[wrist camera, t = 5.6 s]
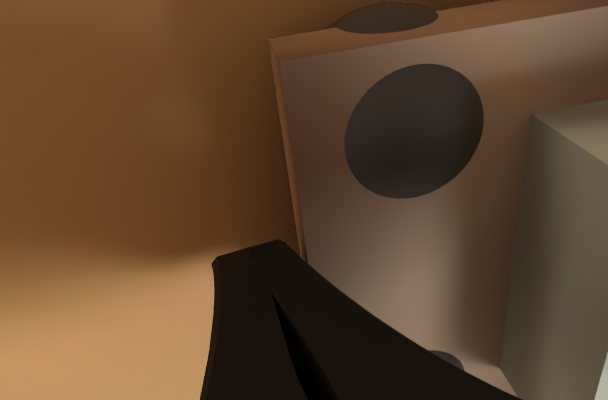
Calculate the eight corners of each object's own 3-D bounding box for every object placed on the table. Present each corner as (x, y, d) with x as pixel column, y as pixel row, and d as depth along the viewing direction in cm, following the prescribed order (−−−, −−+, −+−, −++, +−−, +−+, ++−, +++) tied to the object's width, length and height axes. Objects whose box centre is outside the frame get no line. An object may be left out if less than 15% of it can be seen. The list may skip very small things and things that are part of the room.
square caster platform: (310, 356, 14) (367, 581, 9) (254, 4, 9) (315, 116, 5) (660, 277, 15) (864, 445, 10) (776, -79, 10) (1244, -52, 5)
